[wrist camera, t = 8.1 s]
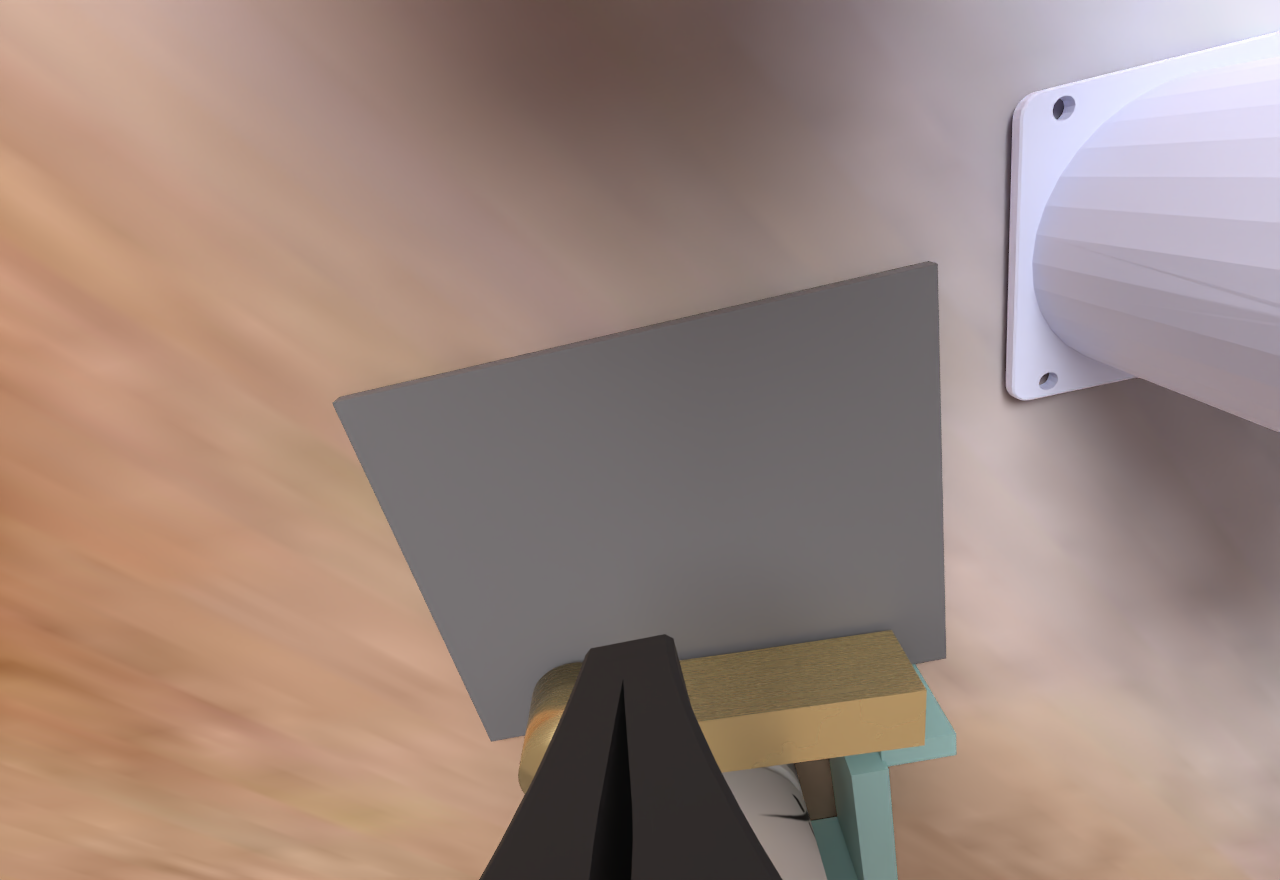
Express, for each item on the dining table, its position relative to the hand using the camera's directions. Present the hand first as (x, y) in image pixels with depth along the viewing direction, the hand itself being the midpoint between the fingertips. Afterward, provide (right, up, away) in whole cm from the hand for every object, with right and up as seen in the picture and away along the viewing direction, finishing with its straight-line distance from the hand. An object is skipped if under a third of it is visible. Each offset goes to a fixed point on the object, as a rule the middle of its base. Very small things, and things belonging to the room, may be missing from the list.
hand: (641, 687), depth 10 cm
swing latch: (+2, -5, +11) cm, 13 cm away
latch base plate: (+1, +1, +10) cm, 10 cm away
